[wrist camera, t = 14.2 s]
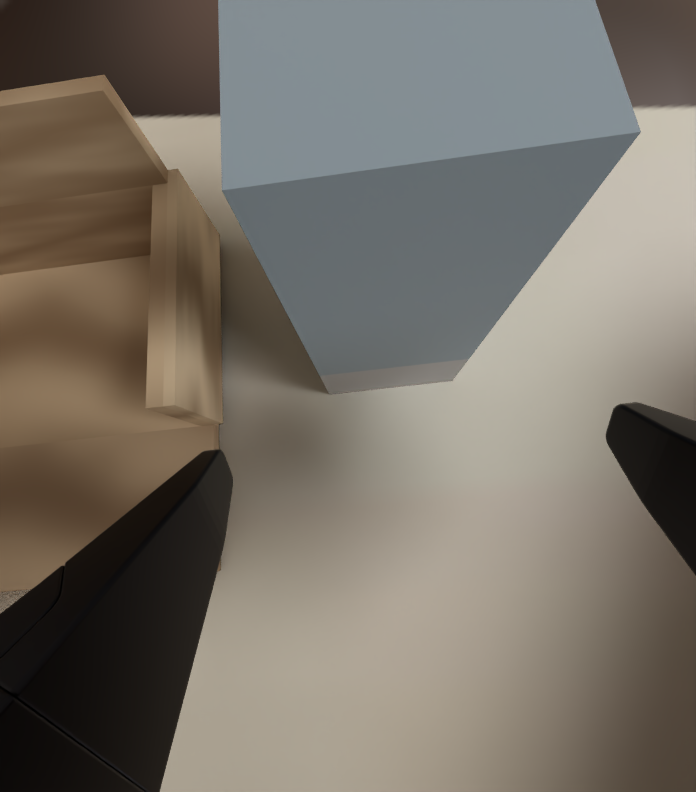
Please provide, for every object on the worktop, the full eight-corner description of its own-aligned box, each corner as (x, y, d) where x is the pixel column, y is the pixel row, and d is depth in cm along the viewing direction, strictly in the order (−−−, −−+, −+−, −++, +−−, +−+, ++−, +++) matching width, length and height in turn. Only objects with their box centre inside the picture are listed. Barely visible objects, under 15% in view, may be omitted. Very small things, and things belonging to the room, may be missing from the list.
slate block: (452, 380, 16) (640, 131, 5) (329, 394, 17) (221, 189, 5) (433, 270, 18) (546, -140, 6) (319, 284, 18) (216, -81, 6)
